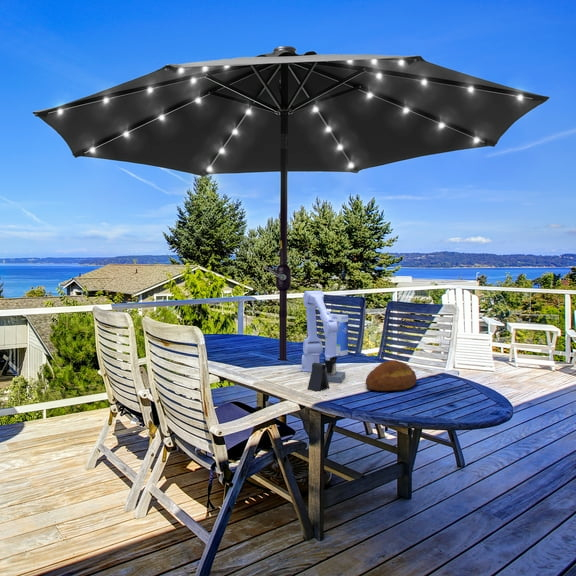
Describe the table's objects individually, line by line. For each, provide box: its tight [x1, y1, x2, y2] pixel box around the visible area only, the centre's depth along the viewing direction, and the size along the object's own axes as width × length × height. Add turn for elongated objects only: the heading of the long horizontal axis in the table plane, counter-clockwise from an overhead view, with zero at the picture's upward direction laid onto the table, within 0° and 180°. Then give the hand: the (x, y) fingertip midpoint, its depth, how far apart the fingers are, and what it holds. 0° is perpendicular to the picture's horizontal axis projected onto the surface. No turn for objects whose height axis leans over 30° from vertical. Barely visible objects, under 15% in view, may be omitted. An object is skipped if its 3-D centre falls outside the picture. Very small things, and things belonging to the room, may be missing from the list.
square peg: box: [326, 363, 337, 375], centre depth 236 cm, size 4×4×6 cm
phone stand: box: [307, 362, 330, 392], centre depth 219 cm, size 9×6×12 cm, turn 137°
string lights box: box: [330, 313, 349, 357], centre depth 303 cm, size 13×8×26 cm, turn 49°
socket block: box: [327, 370, 346, 384], centre depth 237 cm, size 13×12×3 cm
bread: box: [365, 359, 417, 392], centre depth 225 cm, size 21×33×12 cm, turn 127°
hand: (330, 371), depth 237 cm, fingers closed on square peg, 4 cm apart
